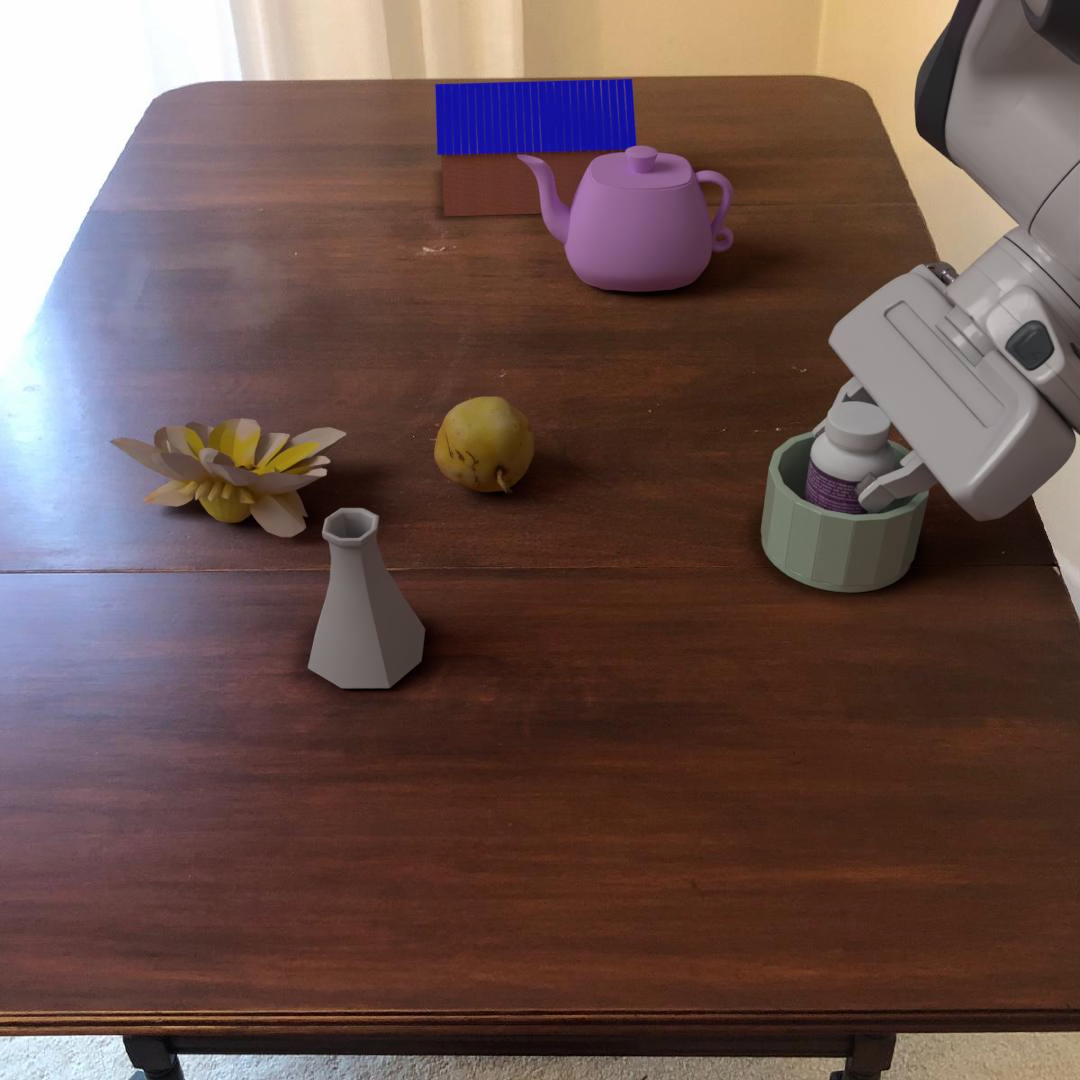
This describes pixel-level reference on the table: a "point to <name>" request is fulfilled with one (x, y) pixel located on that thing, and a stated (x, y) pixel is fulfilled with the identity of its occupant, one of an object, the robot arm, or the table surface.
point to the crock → (835, 529)
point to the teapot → (636, 220)
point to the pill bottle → (848, 456)
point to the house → (525, 139)
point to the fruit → (484, 444)
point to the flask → (363, 611)
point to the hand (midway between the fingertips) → (840, 473)
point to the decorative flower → (236, 470)
